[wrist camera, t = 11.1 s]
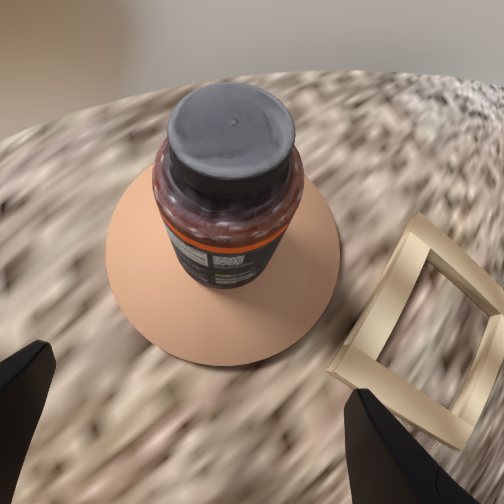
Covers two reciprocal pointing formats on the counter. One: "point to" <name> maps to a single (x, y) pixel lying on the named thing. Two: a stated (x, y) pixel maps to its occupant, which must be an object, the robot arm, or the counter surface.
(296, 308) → the terracotta pad
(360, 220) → the counter surface
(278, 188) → the supplement bottle
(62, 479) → the counter surface
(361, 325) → the birch collar
